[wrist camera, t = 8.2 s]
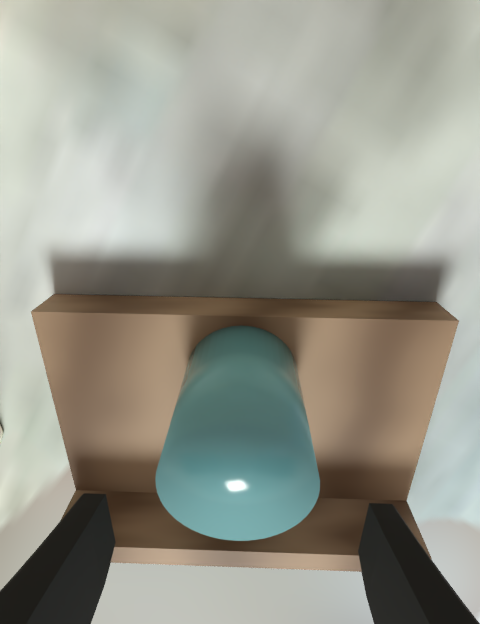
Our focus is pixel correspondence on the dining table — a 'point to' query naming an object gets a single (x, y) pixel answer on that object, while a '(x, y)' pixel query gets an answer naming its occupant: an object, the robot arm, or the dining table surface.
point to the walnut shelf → (316, 393)
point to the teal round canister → (239, 440)
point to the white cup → (1, 434)
